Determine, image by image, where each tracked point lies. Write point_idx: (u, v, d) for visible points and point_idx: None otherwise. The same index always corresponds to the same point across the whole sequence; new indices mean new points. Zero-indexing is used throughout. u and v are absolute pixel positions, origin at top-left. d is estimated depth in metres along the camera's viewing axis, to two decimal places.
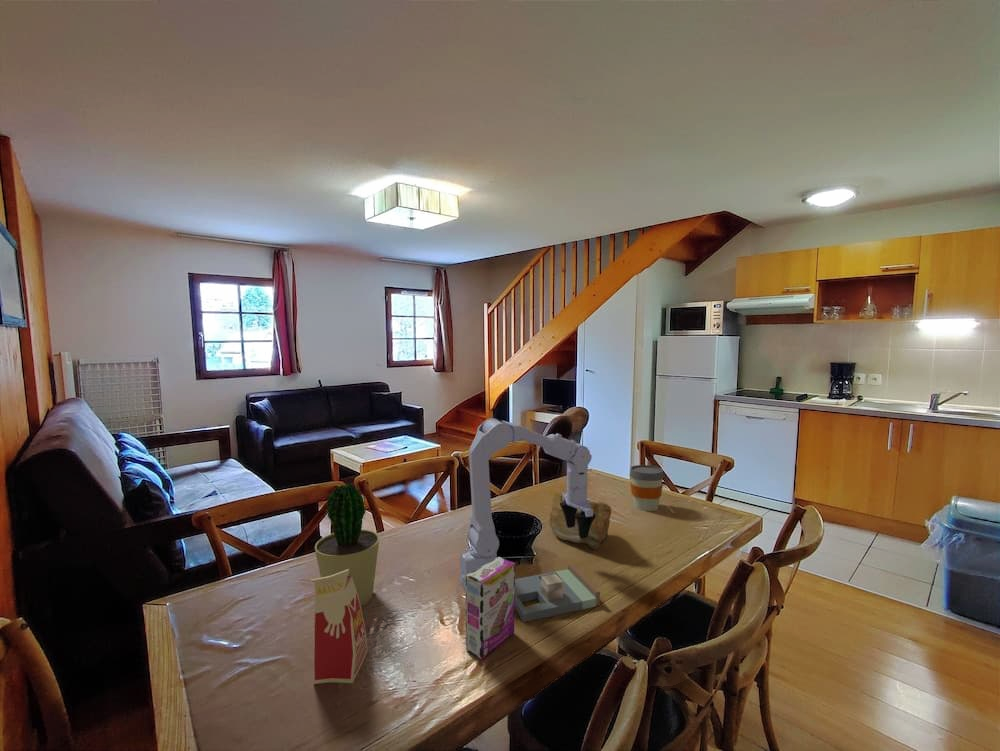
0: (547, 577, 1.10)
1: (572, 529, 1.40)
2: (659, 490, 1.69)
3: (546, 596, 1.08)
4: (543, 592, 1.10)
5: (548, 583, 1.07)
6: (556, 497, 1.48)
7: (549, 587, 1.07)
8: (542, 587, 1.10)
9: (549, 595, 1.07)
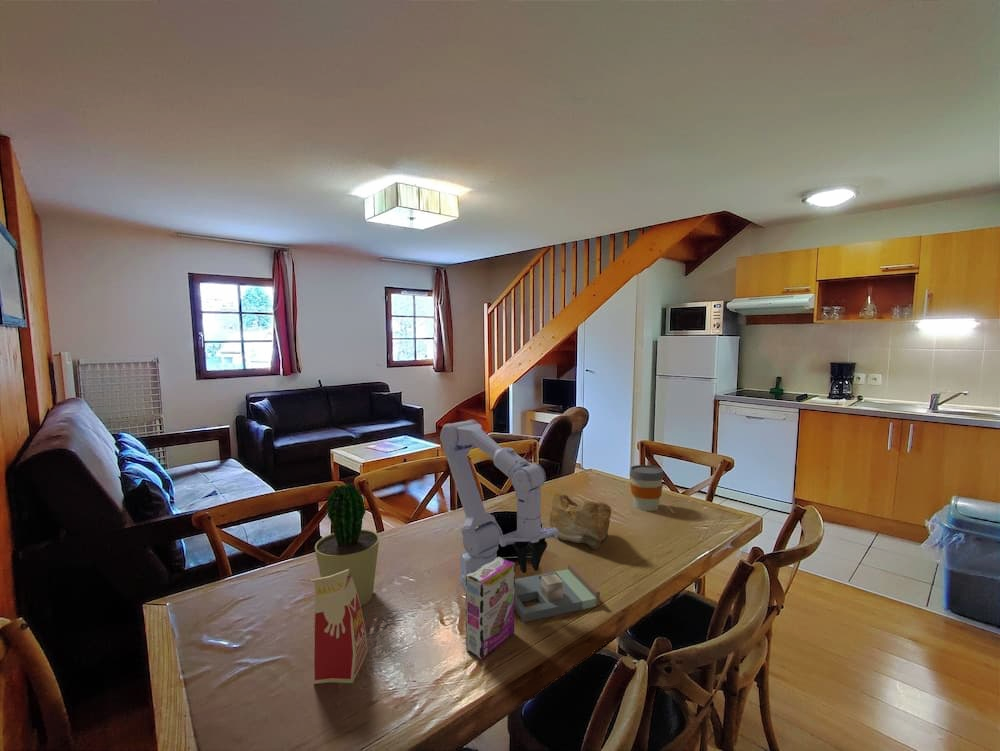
0: (547, 577, 1.10)
1: (572, 529, 1.40)
2: (659, 490, 1.69)
3: (546, 596, 1.08)
4: (543, 592, 1.10)
5: (548, 583, 1.07)
6: (556, 498, 1.48)
7: (549, 587, 1.07)
8: (542, 587, 1.10)
9: (549, 595, 1.07)
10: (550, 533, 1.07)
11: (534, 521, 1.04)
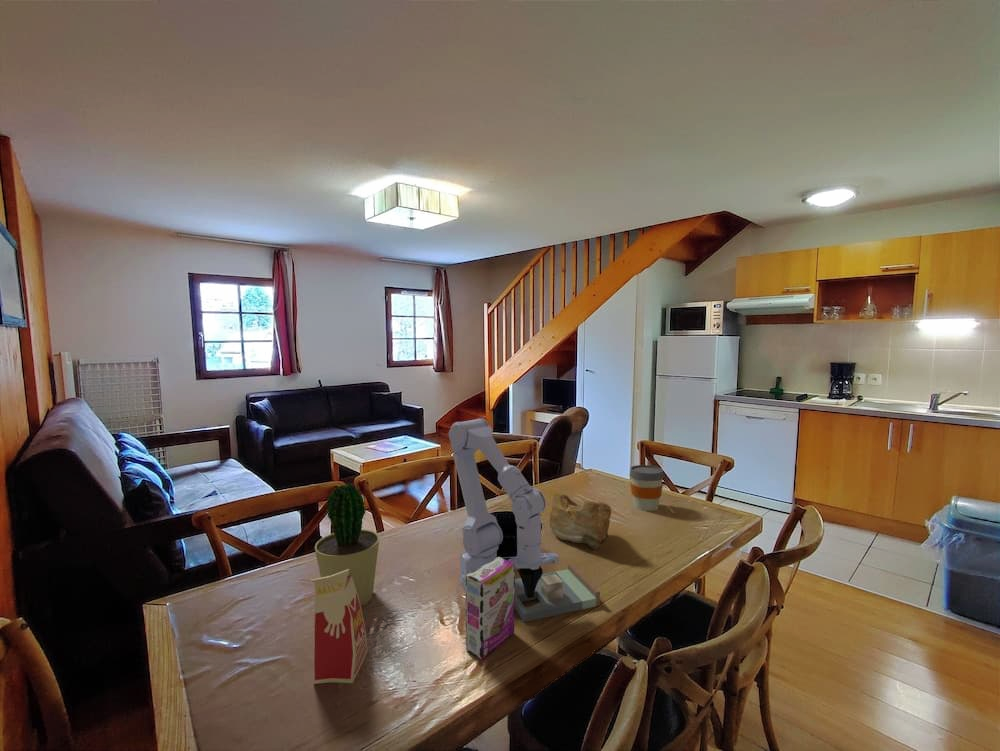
0: (547, 577, 1.10)
1: (572, 529, 1.40)
2: (659, 490, 1.69)
3: (546, 596, 1.08)
4: (543, 592, 1.10)
5: (548, 583, 1.07)
6: (556, 498, 1.48)
7: (549, 587, 1.07)
8: (542, 587, 1.10)
9: (549, 595, 1.07)
10: (550, 559, 1.08)
11: (534, 548, 1.05)
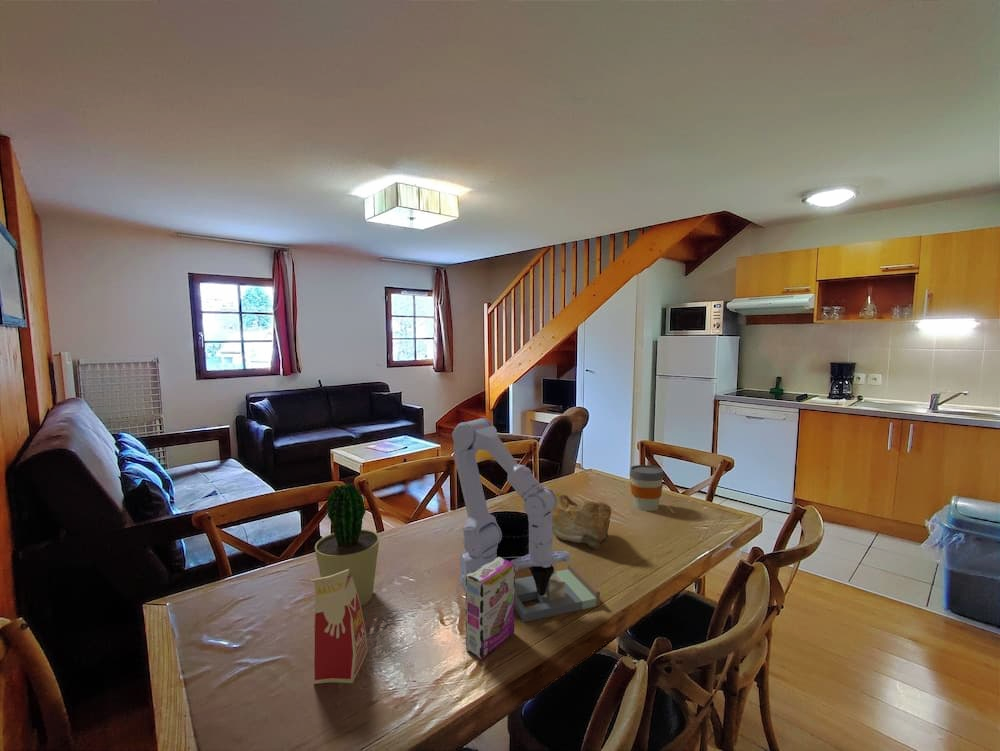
0: None
1: (572, 529, 1.40)
2: (659, 490, 1.69)
3: (548, 596, 1.08)
4: (545, 592, 1.10)
5: (550, 583, 1.08)
6: (556, 497, 1.48)
7: (551, 587, 1.07)
8: None
9: (551, 595, 1.08)
10: (562, 557, 1.09)
11: (546, 546, 1.05)
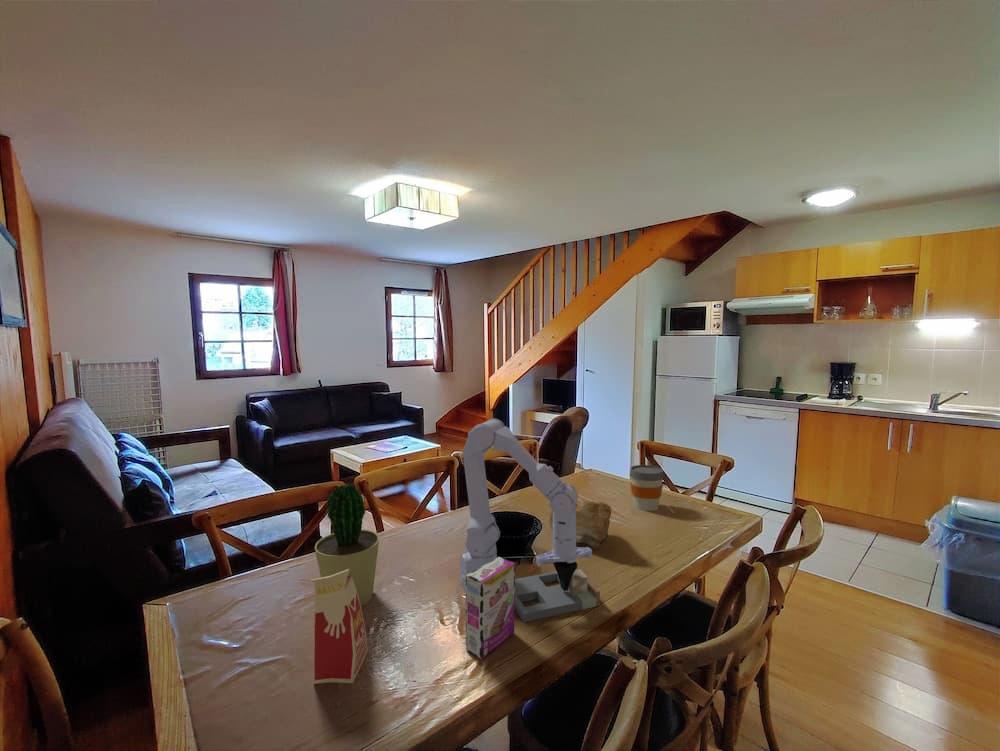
0: None
1: None
2: (659, 490, 1.69)
3: (571, 591, 1.10)
4: None
5: (573, 578, 1.10)
6: None
7: (574, 582, 1.09)
8: None
9: (574, 590, 1.10)
10: (585, 553, 1.11)
11: (570, 542, 1.07)
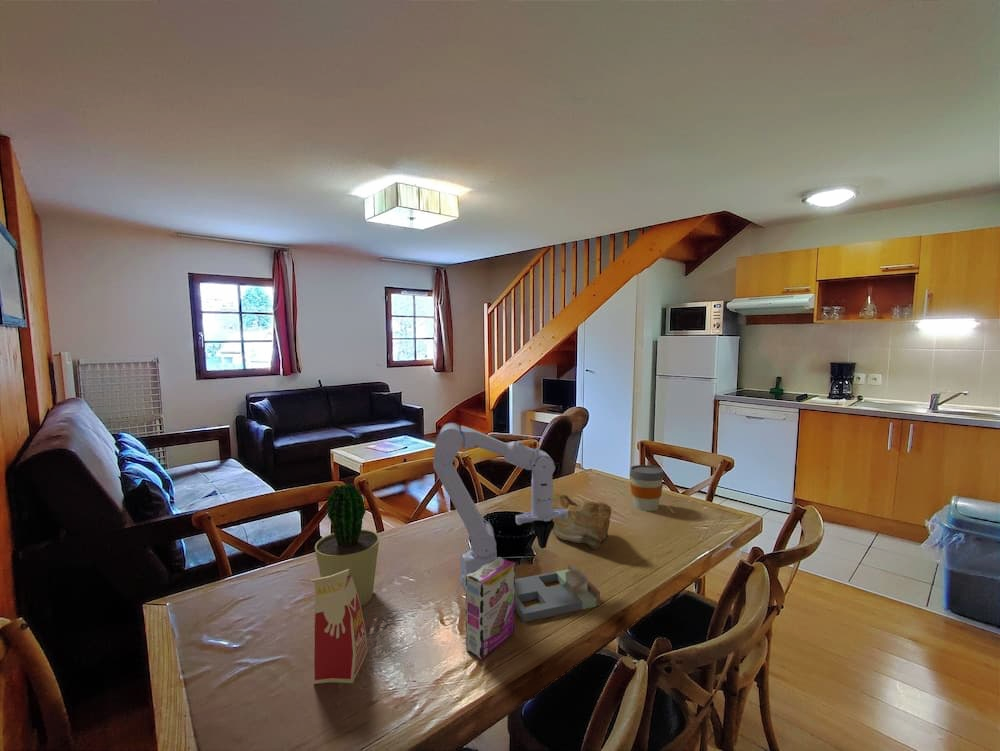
0: (571, 572, 1.13)
1: (572, 529, 1.40)
2: (659, 490, 1.69)
3: (571, 591, 1.10)
4: (568, 587, 1.12)
5: (573, 578, 1.10)
6: (556, 498, 1.48)
7: (574, 582, 1.09)
8: (567, 582, 1.12)
9: (574, 590, 1.10)
10: (561, 513, 1.20)
11: (547, 502, 1.17)
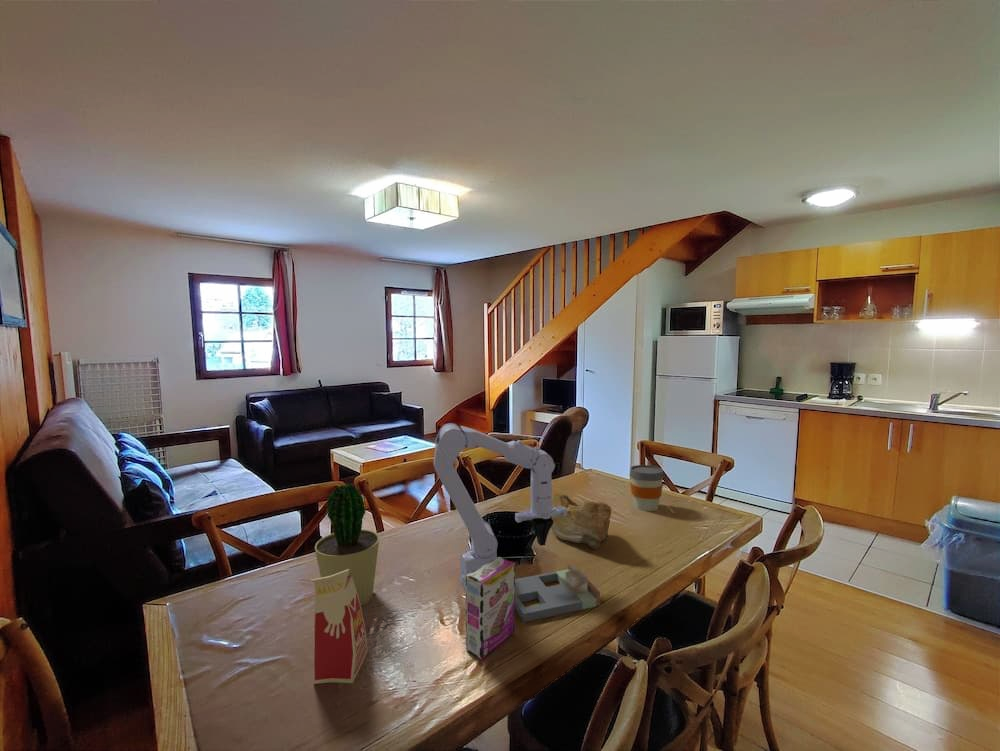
0: (571, 572, 1.13)
1: (572, 529, 1.40)
2: (659, 490, 1.69)
3: (571, 591, 1.10)
4: (568, 587, 1.12)
5: (573, 578, 1.10)
6: (556, 498, 1.48)
7: (574, 582, 1.09)
8: (567, 582, 1.12)
9: (574, 590, 1.10)
10: (560, 511, 1.21)
11: (546, 500, 1.18)
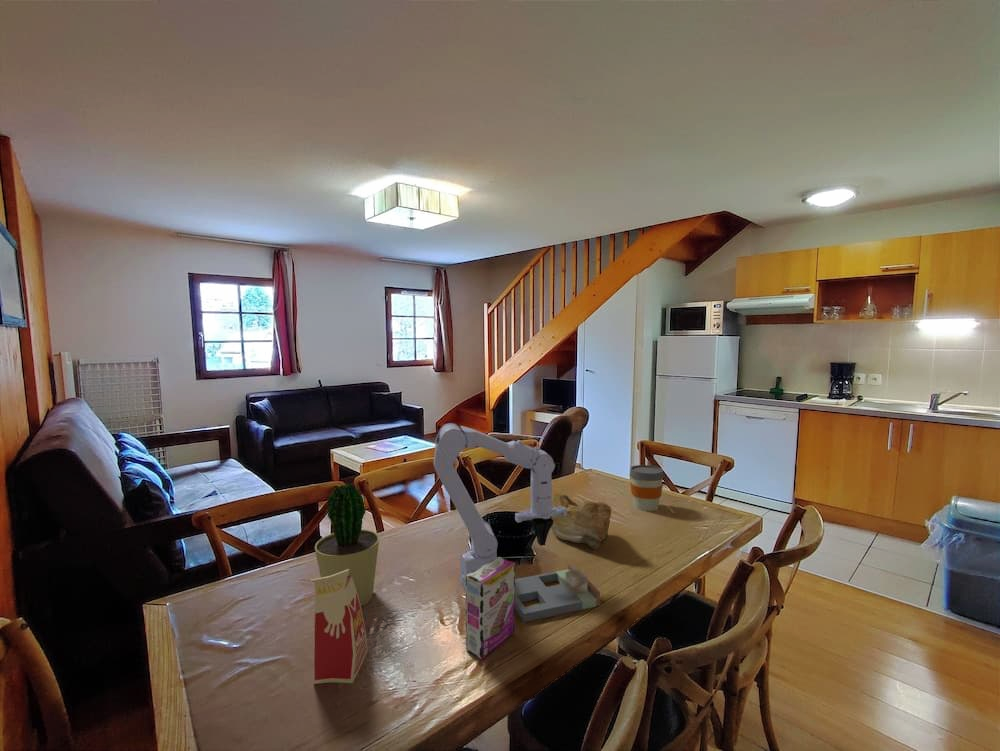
0: (571, 572, 1.13)
1: (572, 529, 1.40)
2: (659, 490, 1.69)
3: (571, 591, 1.10)
4: (568, 587, 1.12)
5: (573, 578, 1.10)
6: (556, 498, 1.48)
7: (574, 582, 1.09)
8: (567, 582, 1.12)
9: (574, 590, 1.10)
10: (560, 511, 1.21)
11: (546, 500, 1.18)
